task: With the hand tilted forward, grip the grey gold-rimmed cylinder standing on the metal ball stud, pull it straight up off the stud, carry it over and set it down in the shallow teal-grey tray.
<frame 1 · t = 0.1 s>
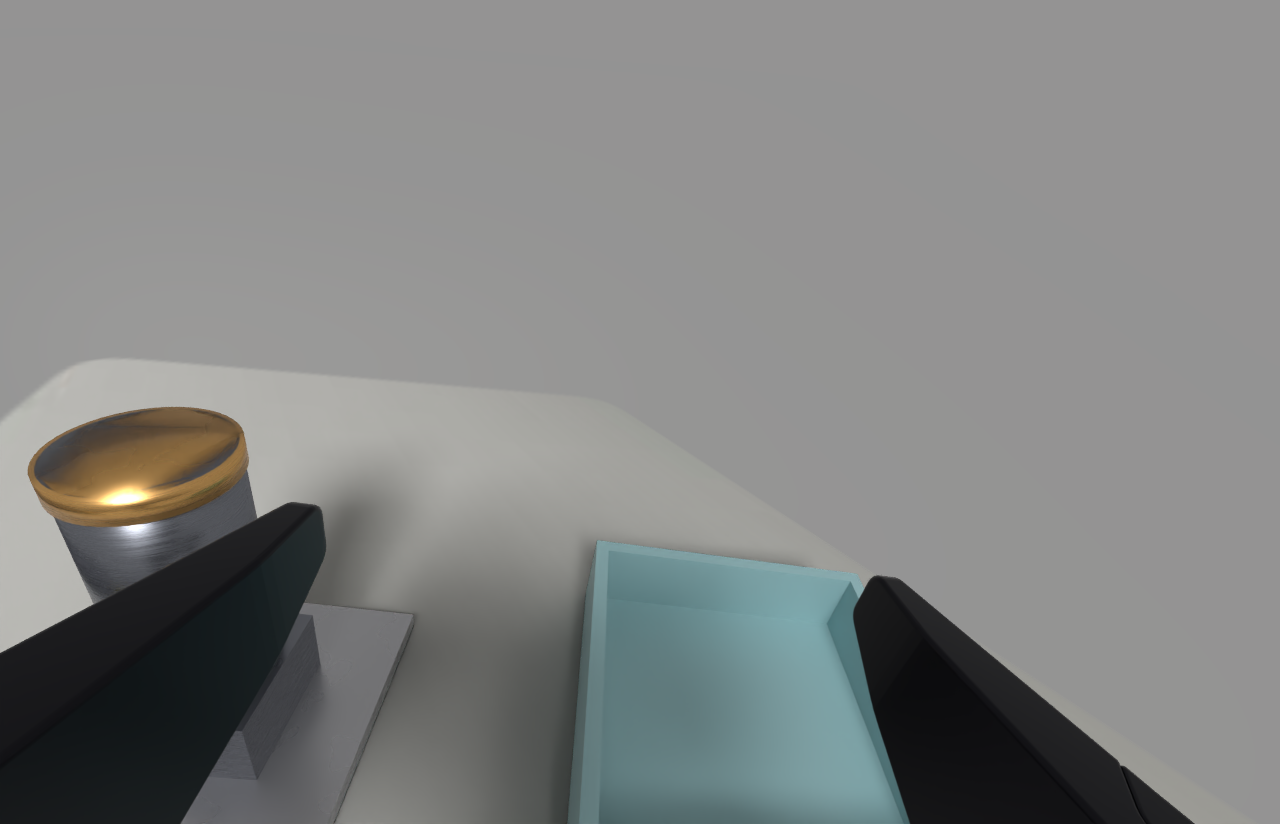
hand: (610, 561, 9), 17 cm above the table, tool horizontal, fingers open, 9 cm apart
grey gold-rimmed cylinder: (229, 710, 20), point 1 cm above the table, touching stud plate
stud plate: (233, 722, 20), on the table
tray: (732, 739, 23), on the table
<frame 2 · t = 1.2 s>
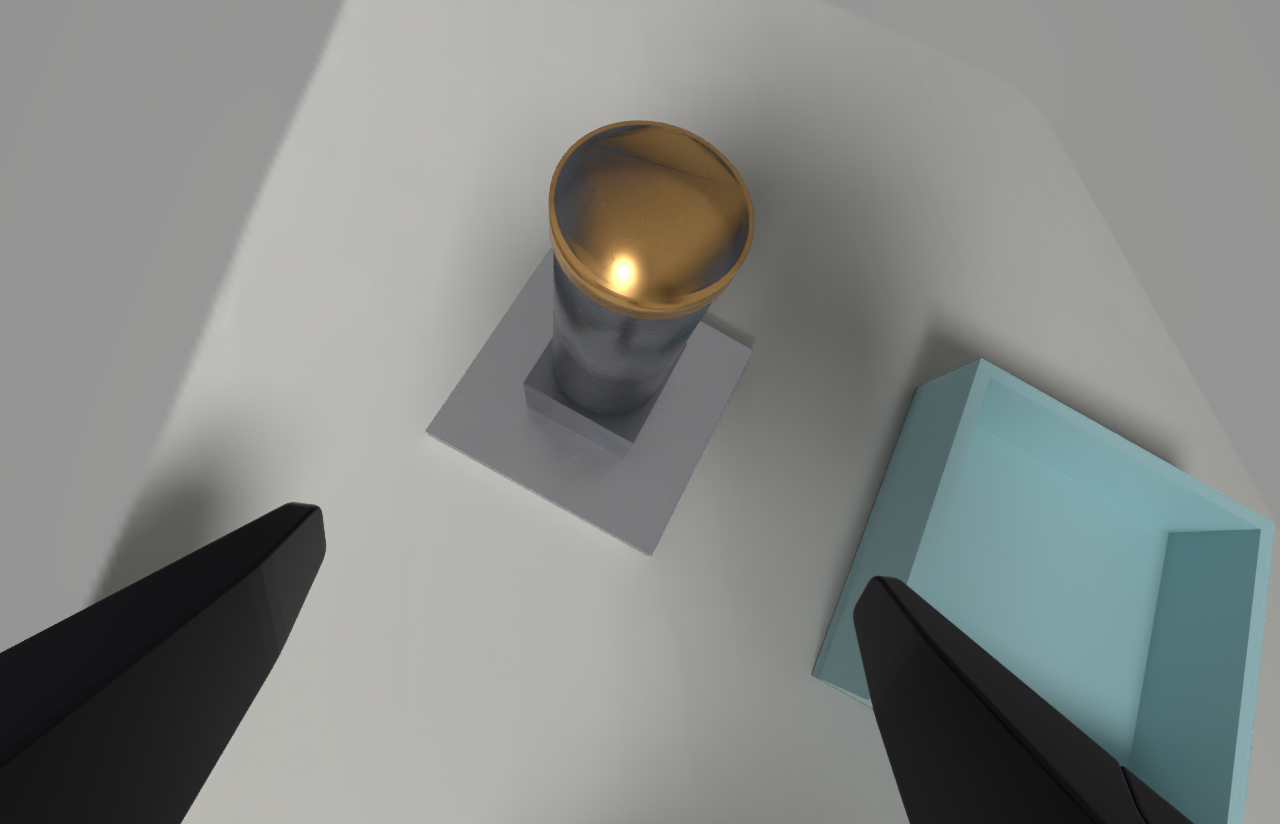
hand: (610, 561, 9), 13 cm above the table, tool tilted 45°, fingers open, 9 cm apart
grey gold-rimmed cylinder: (600, 387, 22), point 1 cm above the table, touching stud plate
stud plate: (599, 393, 23), on the table
tray: (1006, 594, 24), on the table
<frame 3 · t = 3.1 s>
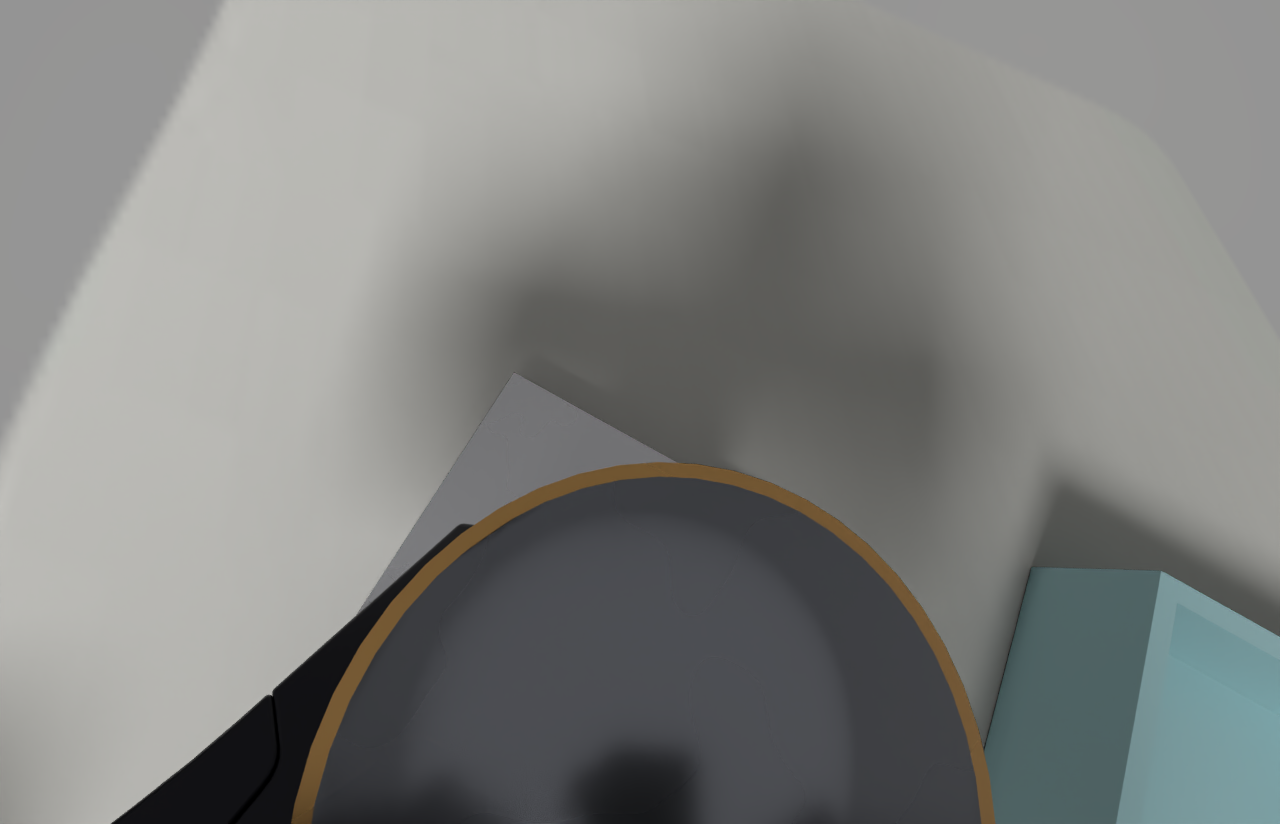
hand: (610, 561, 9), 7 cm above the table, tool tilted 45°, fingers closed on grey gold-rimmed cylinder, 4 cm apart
grey gold-rimmed cylinder: (577, 609, 15), point 1 cm above the table, touching gripper, stud plate
stud plate: (576, 606, 15), on the table
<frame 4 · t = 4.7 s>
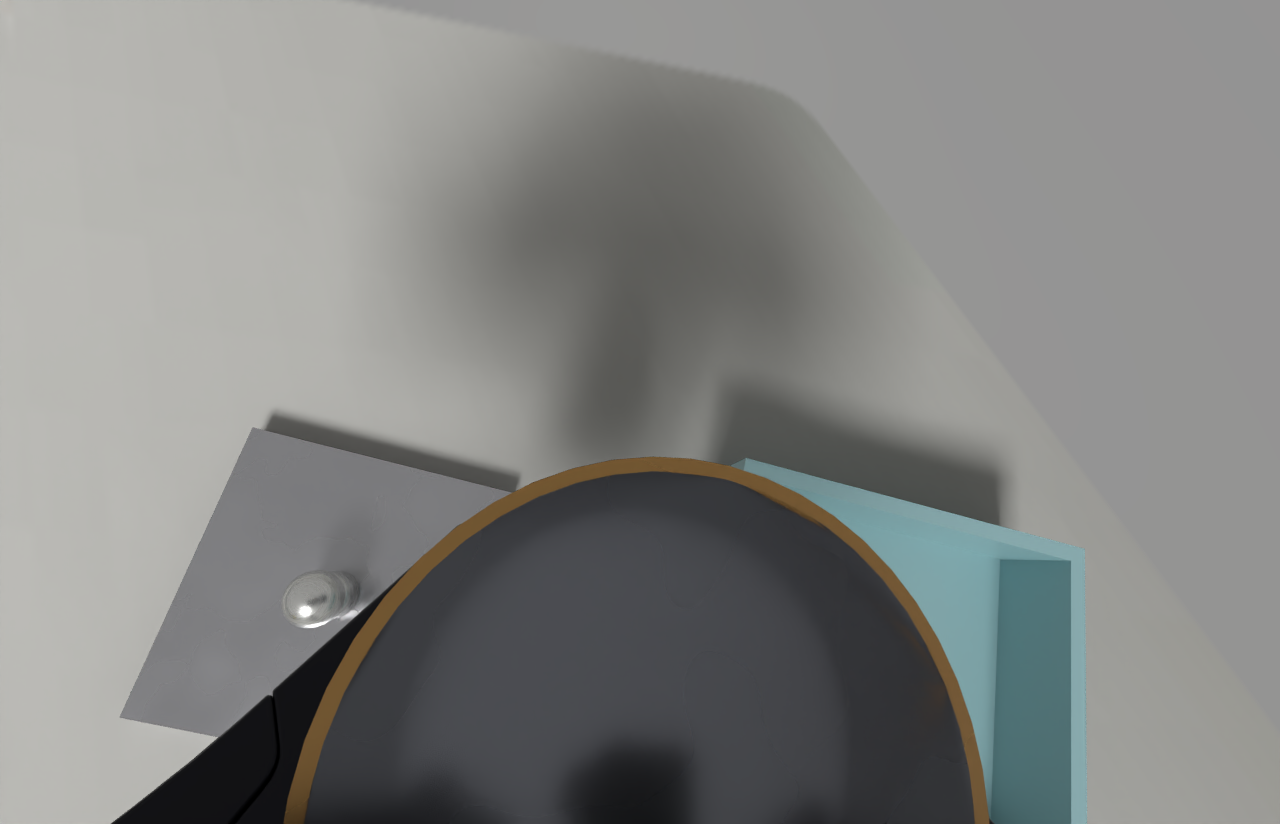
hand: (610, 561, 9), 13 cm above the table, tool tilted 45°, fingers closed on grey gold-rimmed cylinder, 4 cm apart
grey gold-rimmed cylinder: (576, 608, 15), point 7 cm above the table, touching gripper
stud plate: (343, 592, 20), on the table
tray: (843, 679, 22), on the table
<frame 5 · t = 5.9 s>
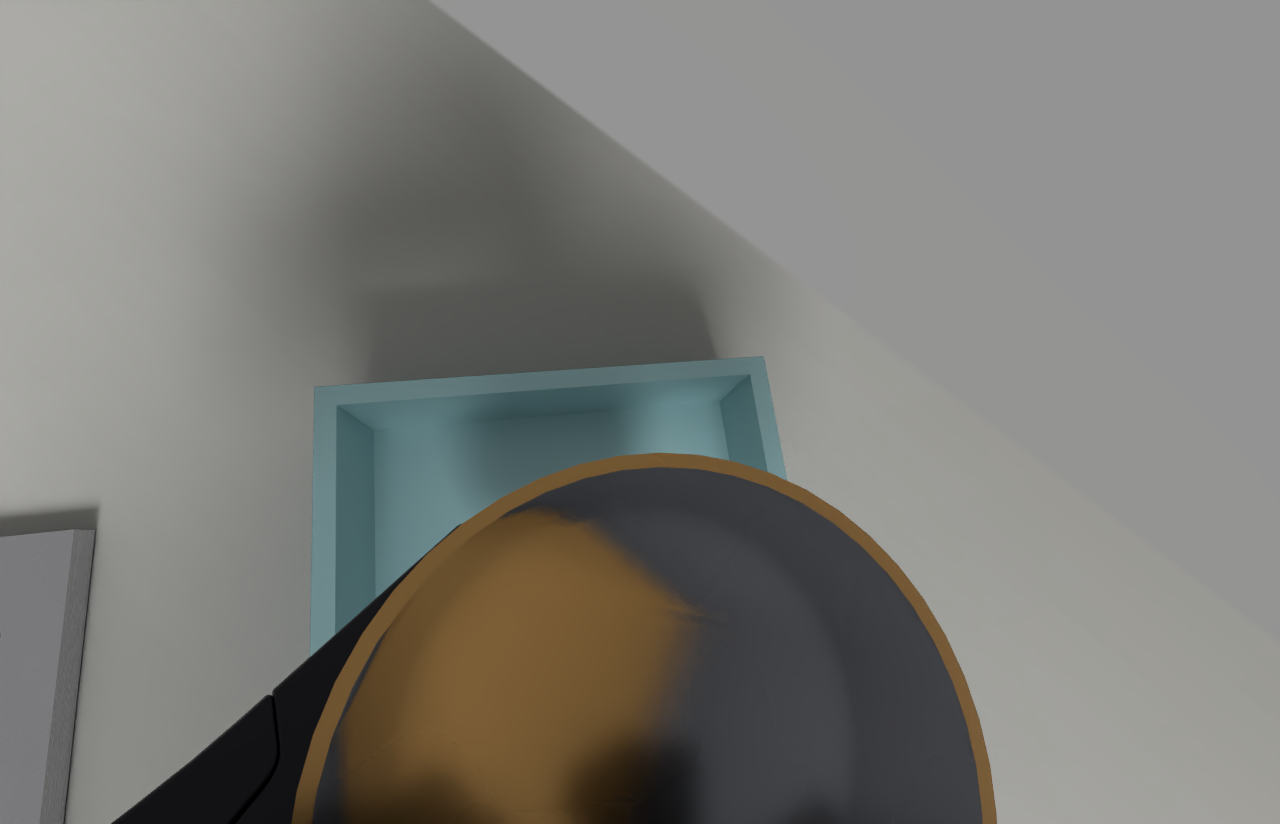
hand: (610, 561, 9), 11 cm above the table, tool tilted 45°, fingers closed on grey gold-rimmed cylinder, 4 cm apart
grey gold-rimmed cylinder: (578, 607, 15), point 5 cm above the table, touching gripper
tray: (572, 591, 19), on the table
when the fingers open (8 cm above the table, at t = 6.7 s): grey gold-rimmed cylinder stays where it is, resting on tray.
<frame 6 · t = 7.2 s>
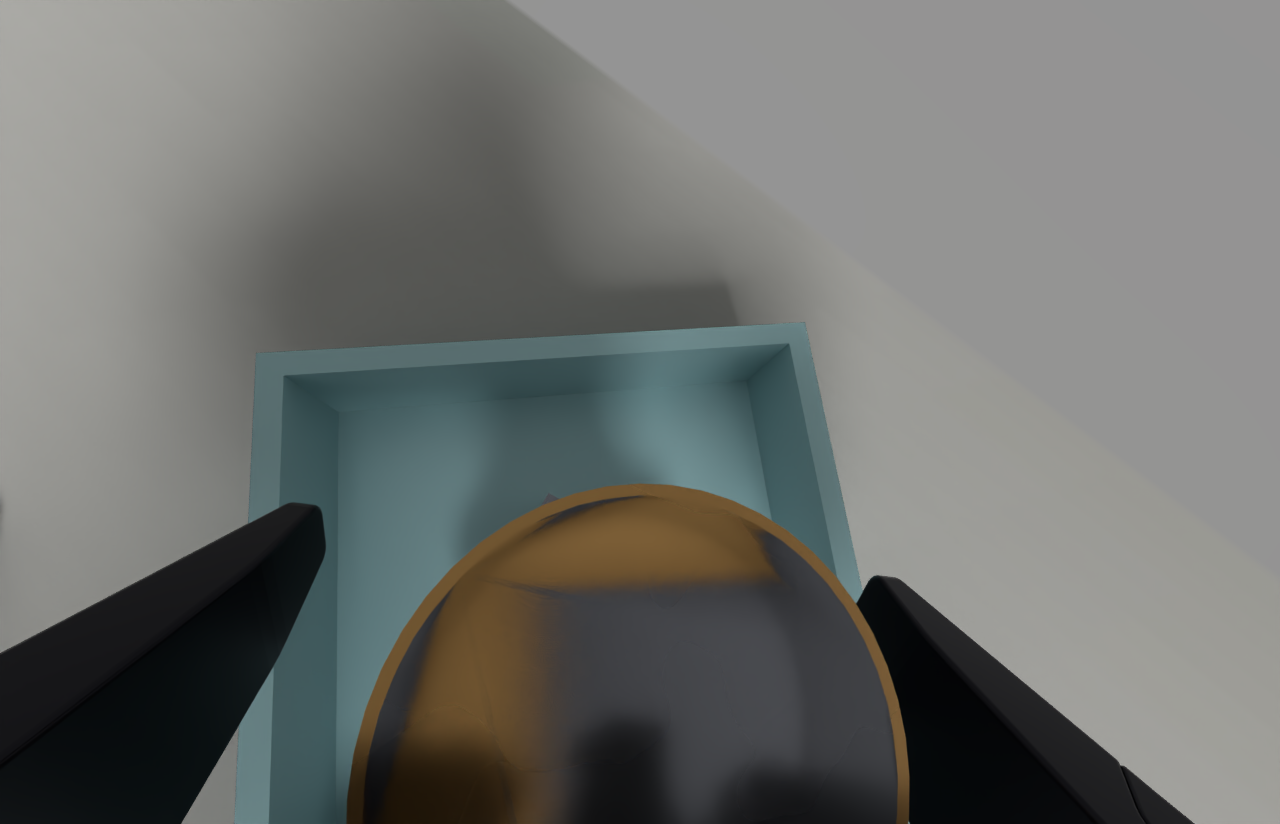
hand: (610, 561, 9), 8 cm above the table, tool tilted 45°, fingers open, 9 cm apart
grey gold-rimmed cylinder: (576, 607, 15), point 1 cm above the table, touching tray
tray: (575, 604, 16), on the table
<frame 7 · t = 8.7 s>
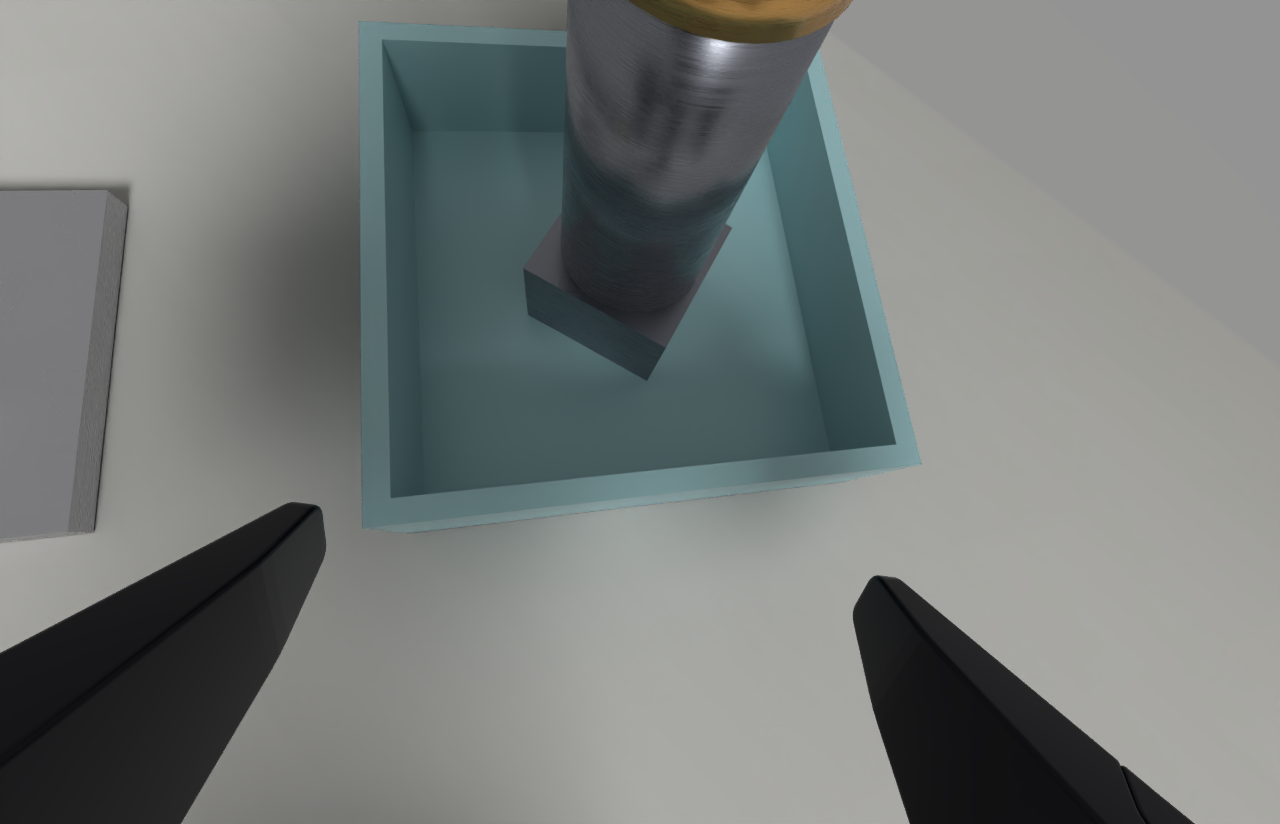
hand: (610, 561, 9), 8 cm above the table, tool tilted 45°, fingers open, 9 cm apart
grey gold-rimmed cylinder: (619, 295, 18), point 1 cm above the table, touching tray
tray: (617, 302, 18), on the table
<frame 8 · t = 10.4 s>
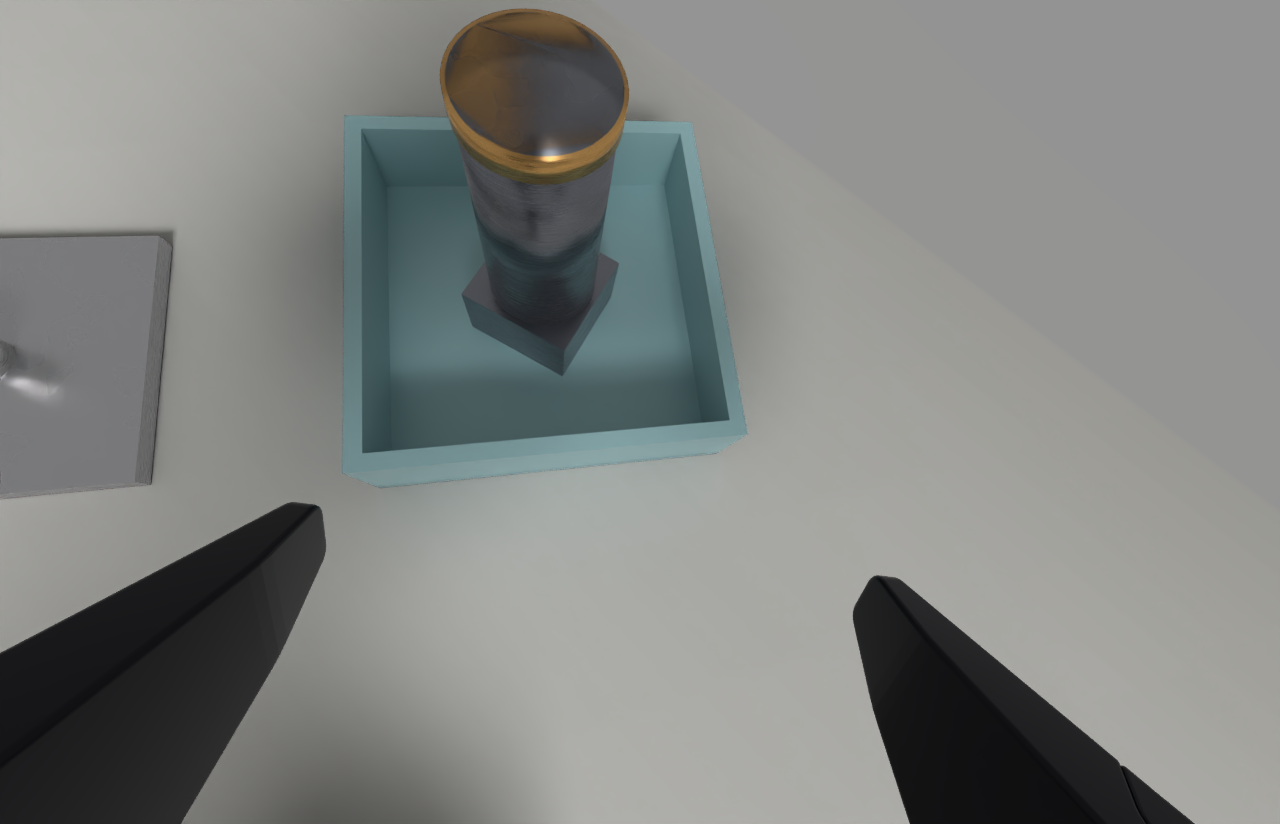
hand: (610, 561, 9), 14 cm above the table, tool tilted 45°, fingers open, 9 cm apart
grey gold-rimmed cylinder: (543, 311, 24), point 1 cm above the table, touching tray
stud plate: (10, 367, 20), on the table
tray: (543, 316, 24), on the table
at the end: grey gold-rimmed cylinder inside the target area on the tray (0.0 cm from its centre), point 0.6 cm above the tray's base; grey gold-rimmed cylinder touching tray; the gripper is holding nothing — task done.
